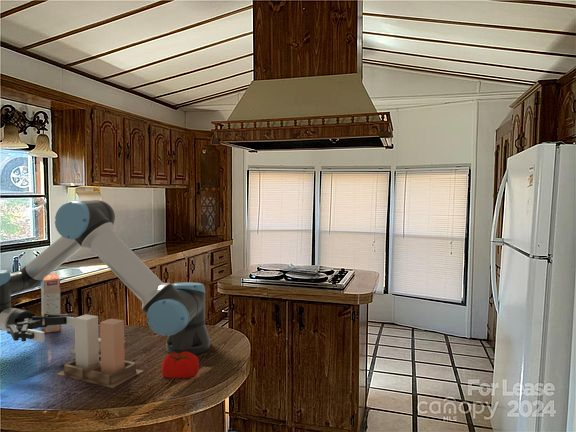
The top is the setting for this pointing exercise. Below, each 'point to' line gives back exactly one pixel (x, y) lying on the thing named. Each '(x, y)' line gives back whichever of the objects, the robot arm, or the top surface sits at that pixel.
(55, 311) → the cracker box
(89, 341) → the white rectangular block
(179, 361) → the tomato
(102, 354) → the salmon orange block
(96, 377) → the rack
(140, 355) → the top surface
